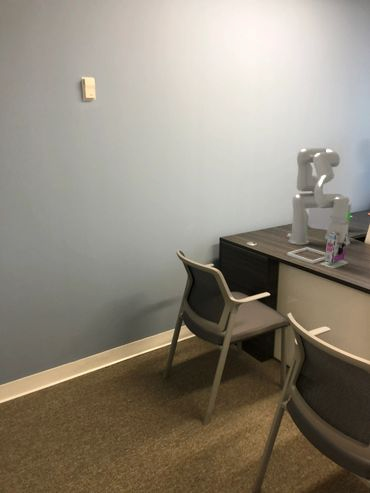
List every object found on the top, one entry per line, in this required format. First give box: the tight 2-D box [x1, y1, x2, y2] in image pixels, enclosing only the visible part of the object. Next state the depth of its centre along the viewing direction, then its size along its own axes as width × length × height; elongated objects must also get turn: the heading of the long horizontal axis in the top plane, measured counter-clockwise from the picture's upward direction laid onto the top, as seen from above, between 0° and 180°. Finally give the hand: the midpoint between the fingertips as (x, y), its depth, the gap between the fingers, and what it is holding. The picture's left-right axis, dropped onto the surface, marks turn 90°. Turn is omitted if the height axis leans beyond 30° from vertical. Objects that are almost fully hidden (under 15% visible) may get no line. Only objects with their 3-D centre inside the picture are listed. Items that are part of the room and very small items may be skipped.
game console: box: [308, 202, 352, 231], centre depth 273 cm, size 6×27×20 cm, turn 58°
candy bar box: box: [324, 231, 346, 263], centre depth 203 cm, size 11×5×16 cm, turn 126°
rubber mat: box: [319, 260, 349, 270], centre depth 206 cm, size 8×14×1 cm, turn 125°
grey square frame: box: [286, 246, 326, 264], centre depth 219 cm, size 18×18×2 cm
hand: (335, 252), depth 205 cm, fingers closed on candy bar box, 5 cm apart
